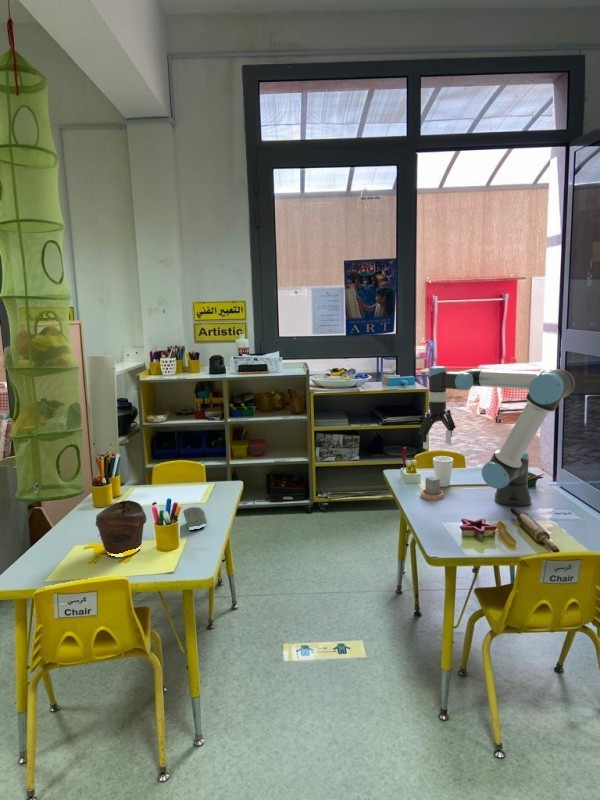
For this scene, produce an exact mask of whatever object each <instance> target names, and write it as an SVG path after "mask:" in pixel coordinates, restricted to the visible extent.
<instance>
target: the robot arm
mask: <svg viewBox="0 0 600 800" xmlns="http://www.w3.org/2000/svg"><path fill="white" fill-rule="evenodd" d="M428 372H429V373H428V400H429V401H428V409H429V412H424V413H423V418H422V420H421V421H422V422H421V423H420V427H419V429H418V434H420V435H421V436H422V437H421V438H422V439H421V441H422V443H423V445H422V449H424V450H429V437H430V435H429V432H430V430H431V429H432V427H433V425H434V424H435V423H436V422H441V423H442V424H443V426H444V427H445V428H446V429H445V445H449V446H452V438H453V432H454V431H455V429H456V428H457V427H456V423H455V421H454V419H453V416H452V414H451V410H450V409H447V401H446V400H447V390H449V389H450V390H458V391H459V390H460V391H469V390H471V388H472V387H485V388H486V387H487V388H499V389H500V388H503V389H513V390H514V389H517V390H527V391H528V393H526V395H525V396H526V397H525V398H526V401H527V402H526V405H525V406H524V408H523V409H522V411H521V413H520V415H519V416H518V419H517V420H516V422H515V423H514V425H513V427H512V429H511V431H510V433H509V434H508V436H507V438H506V439H505V441H504V443H503V445H502V446H501V448H500V449H496V451H494V453H493V455H492V457H491V458H490V460H489V461H487V462H486V463H485V464H484V465H483V466H482V468H481V477H482V478H483V482H484V483H485V484H486V485H488V486H489V487H490V488H493V489H496V491H495V493H494V501H495V502H496V503H498V504H501V505H504V506H509V507H514V508H515V507H517V508H518V507H526V506H529V505H531V504H532V496H531V494H530V490H529V487H528V484H529V483H528V479H529V477H528V476H529V461H530V458H529V455H530V454H529V453H528V452H527V451H526V450H527V449H528V447H529V446H530V445H531V443H532V441H533V440H534V437H535V436H536V434H537V433H538V430H539V429H540V428H541V426H542V425H543V422H544V421H545V419H546V418H547V416H548V414H549V413H551V412H555V411H556V408H557V407H558V406H559V404H560V402H561V400H562V399H564V398H566V397H568V396H570V395H571V393H572V392H574V389H575V378H574V377H573V375H572V374H571V373H570V372H569V371H567V370H565V369H557V368H556V369H541V370H540V371H525V370H524V371H521V370H518V371H517V370H502V369H501V370H500V369H499V370H497V369H496V370H495V369H482V368H481V369H480V368H477V367H475V368H474V367H473V368H470V369H466V370H461V371H447V368H446V366H442V365H437V366H431V367H429V369H428Z"/></svg>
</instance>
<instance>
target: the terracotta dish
mask: <svg viewBox="0 0 600 800" xmlns="http://www.w3.org/2000/svg"><path fill="white" fill-rule="evenodd" d="M444 496H445V493H444V491H443V490H441V489H440V494H439V495H427V494H425V488H423V489H421V490H420V497H421V498H422V499H424V500H428V501H438V500H439V501H440V500H443V498H444Z"/></svg>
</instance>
